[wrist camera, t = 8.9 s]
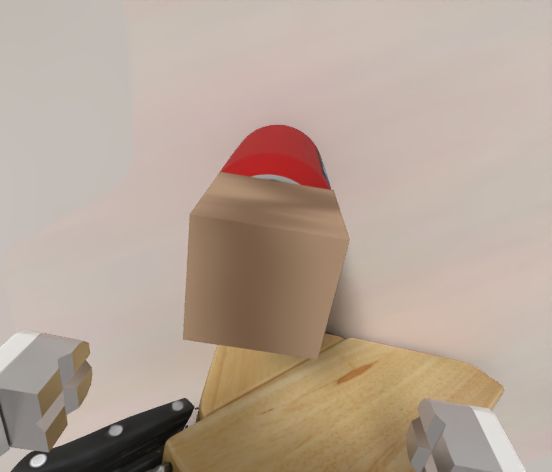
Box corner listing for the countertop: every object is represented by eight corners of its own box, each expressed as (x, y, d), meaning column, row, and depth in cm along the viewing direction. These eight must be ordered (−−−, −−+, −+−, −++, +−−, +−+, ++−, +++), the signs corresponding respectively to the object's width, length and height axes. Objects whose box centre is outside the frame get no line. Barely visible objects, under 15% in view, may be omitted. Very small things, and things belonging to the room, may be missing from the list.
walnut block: (333, 190, 16) (349, 239, 11) (311, 285, 18) (317, 359, 13) (220, 171, 16) (189, 214, 11) (211, 270, 18) (183, 339, 13)
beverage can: (289, 224, 29) (285, 315, 19) (218, 179, 28) (170, 248, 17) (340, 157, 27) (371, 216, 16) (265, 103, 26) (244, 128, 15)
